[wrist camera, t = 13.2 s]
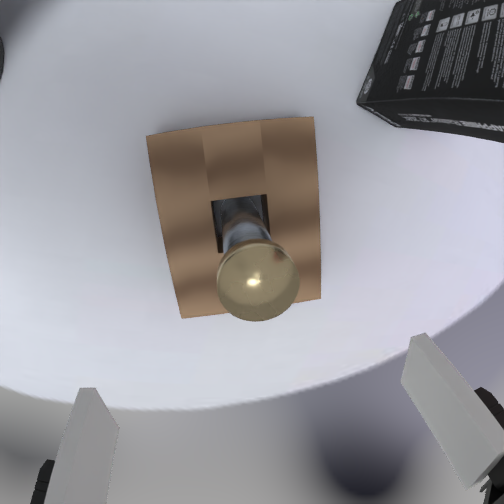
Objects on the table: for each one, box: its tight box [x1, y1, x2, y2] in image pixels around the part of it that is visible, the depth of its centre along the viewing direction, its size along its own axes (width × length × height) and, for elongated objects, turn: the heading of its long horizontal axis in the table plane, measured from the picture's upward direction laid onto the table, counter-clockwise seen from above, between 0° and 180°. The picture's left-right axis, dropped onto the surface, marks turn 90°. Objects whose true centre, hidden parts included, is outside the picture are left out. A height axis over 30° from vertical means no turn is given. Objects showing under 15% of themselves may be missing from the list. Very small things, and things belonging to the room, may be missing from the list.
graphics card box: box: [357, 0, 504, 143], centre depth 19 cm, size 17×7×27 cm, turn 159°
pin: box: [217, 196, 300, 321], centre depth 28 cm, size 5×5×18 cm
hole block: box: [146, 117, 321, 319], centre depth 34 cm, size 20×16×5 cm
